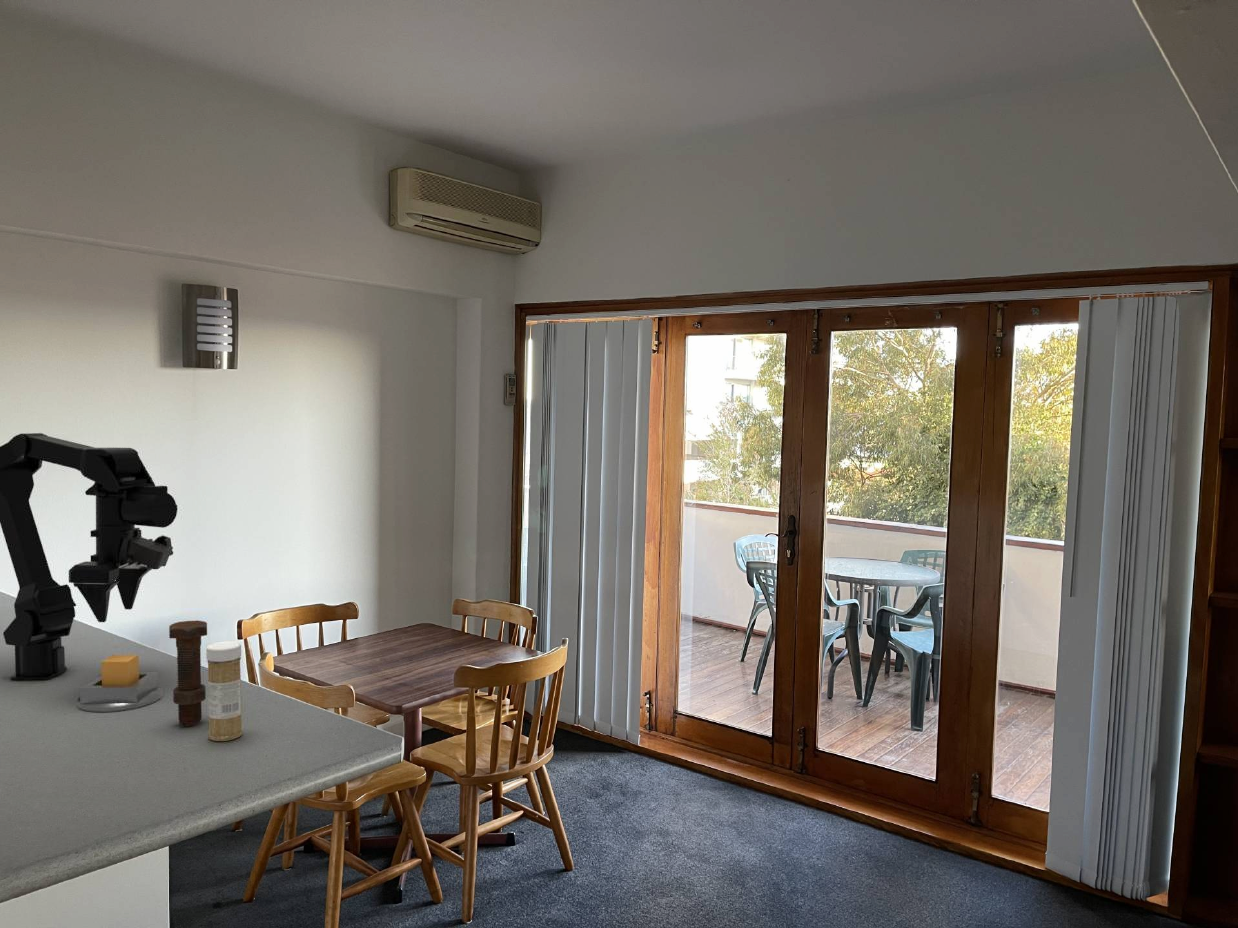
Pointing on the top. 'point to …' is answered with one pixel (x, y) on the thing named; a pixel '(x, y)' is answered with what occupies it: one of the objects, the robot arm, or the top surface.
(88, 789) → the top surface
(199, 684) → the bolt
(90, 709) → the rosette collar
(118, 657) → the orange rectangular block
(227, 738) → the spice jar
